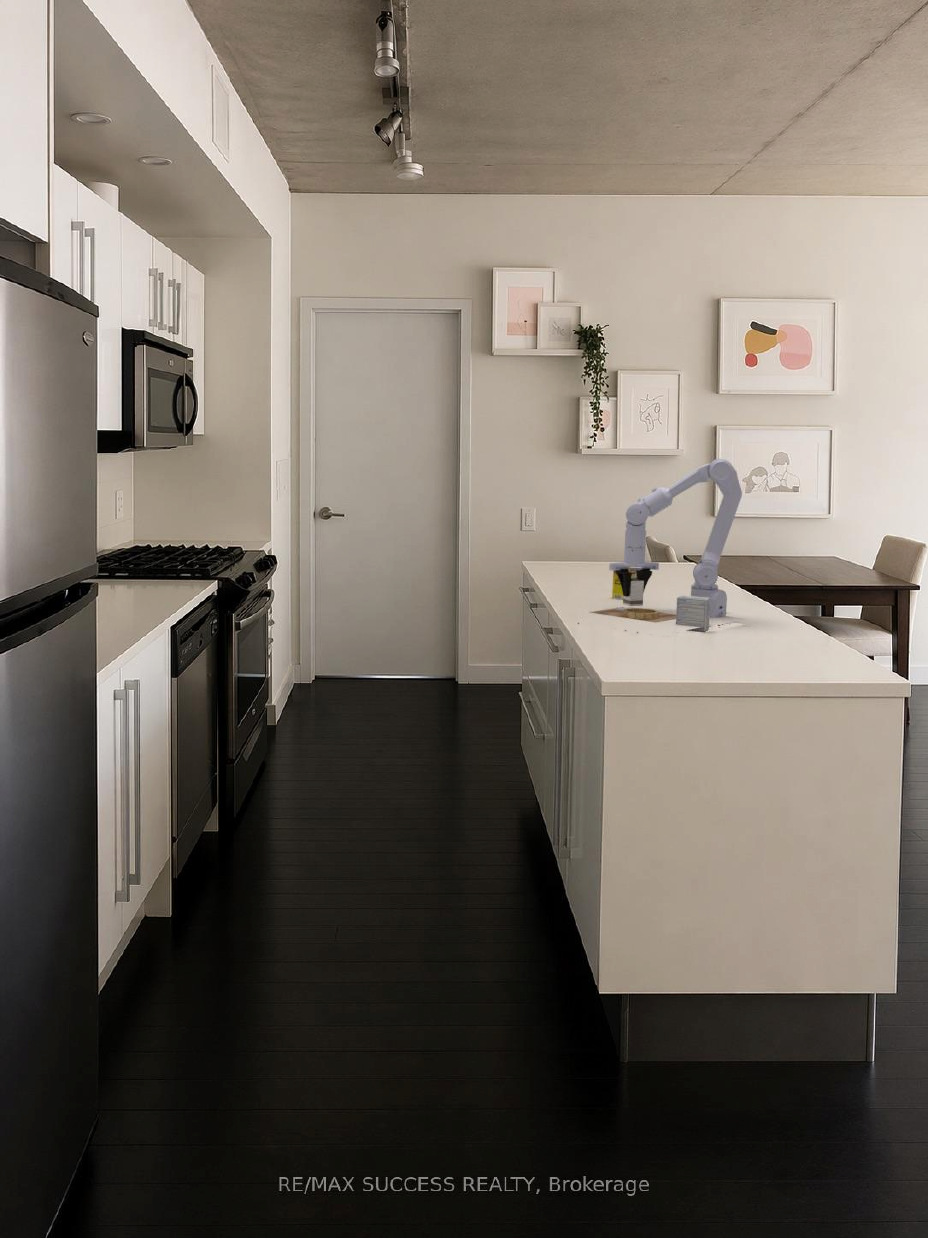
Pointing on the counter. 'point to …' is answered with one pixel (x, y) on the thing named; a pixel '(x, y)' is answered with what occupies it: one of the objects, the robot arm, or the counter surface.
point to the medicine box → (693, 612)
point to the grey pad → (623, 609)
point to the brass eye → (641, 613)
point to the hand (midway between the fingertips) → (632, 595)
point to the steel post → (635, 593)
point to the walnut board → (621, 614)
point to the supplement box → (619, 585)
